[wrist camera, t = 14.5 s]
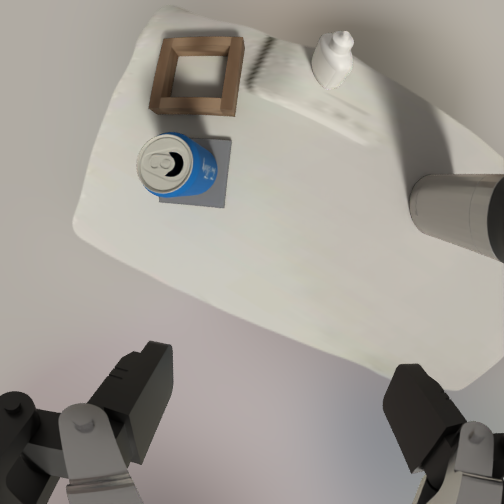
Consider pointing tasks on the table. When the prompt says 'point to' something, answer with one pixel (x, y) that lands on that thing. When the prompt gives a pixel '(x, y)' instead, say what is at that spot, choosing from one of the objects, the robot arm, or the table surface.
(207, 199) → the rubber mat
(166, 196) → the beverage can
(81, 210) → the table surface
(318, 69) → the eye dropper bottle
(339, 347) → the table surface
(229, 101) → the walnut collar
